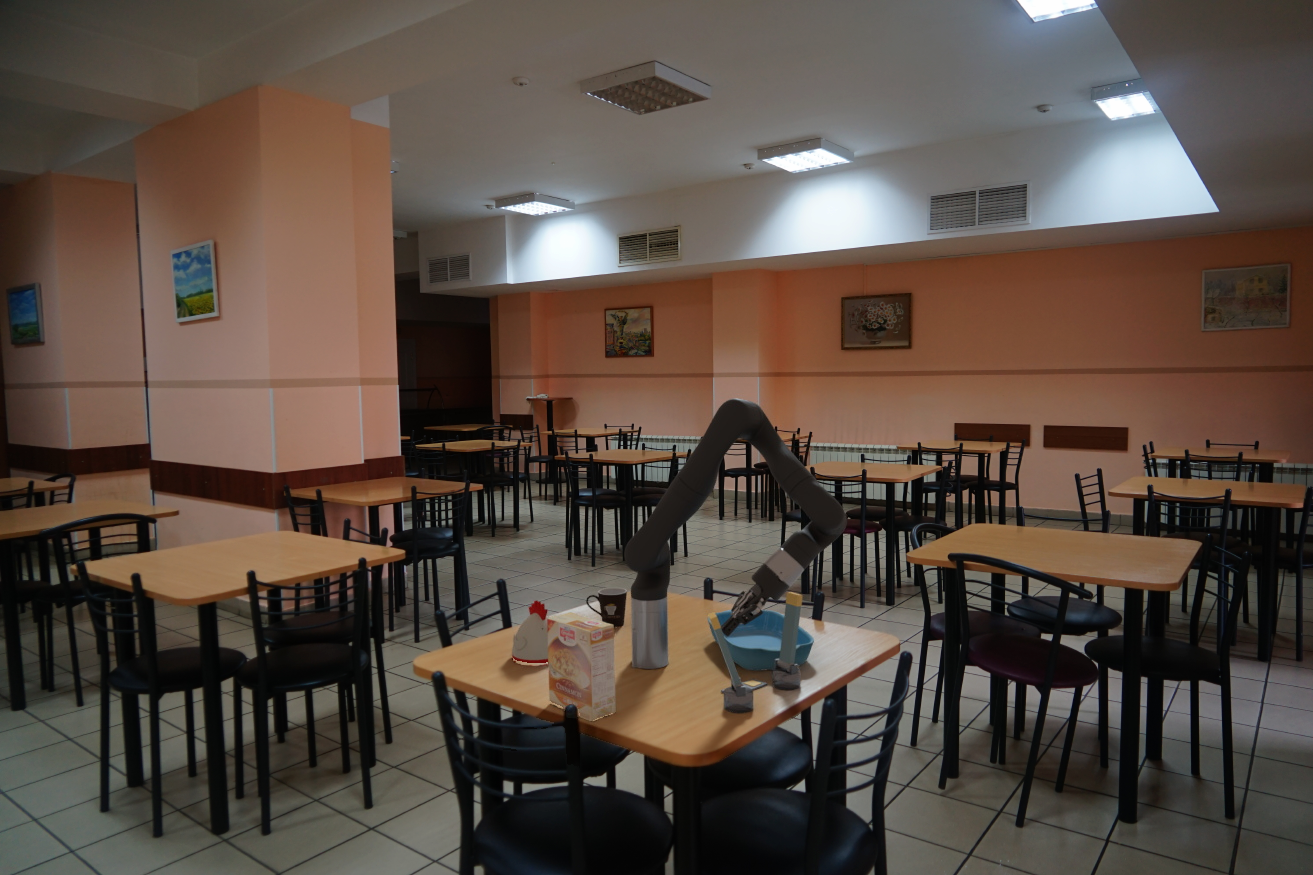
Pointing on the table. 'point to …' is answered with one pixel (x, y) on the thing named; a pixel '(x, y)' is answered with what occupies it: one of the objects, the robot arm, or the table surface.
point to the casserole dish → (761, 641)
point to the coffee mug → (611, 605)
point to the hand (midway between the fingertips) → (723, 632)
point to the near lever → (725, 650)
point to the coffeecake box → (581, 664)
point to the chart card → (752, 684)
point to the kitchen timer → (532, 636)
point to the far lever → (790, 630)
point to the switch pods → (743, 695)
